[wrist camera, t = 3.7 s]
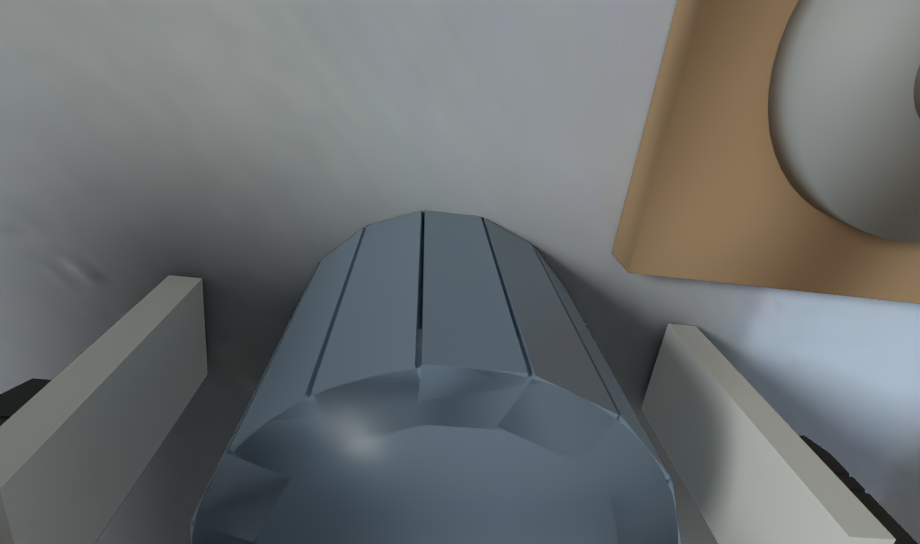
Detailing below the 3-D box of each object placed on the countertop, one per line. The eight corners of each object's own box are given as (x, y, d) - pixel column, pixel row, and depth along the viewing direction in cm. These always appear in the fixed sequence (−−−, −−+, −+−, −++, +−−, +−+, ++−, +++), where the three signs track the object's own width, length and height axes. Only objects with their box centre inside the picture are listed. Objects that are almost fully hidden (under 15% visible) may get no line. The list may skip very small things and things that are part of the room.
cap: (293, 443, 15) (203, 711, 9) (298, 196, 12) (174, 342, 6) (542, 460, 16) (613, 718, 10) (599, 230, 13) (745, 391, 7)
